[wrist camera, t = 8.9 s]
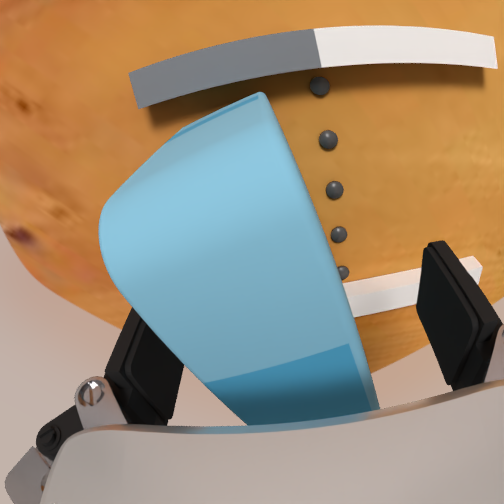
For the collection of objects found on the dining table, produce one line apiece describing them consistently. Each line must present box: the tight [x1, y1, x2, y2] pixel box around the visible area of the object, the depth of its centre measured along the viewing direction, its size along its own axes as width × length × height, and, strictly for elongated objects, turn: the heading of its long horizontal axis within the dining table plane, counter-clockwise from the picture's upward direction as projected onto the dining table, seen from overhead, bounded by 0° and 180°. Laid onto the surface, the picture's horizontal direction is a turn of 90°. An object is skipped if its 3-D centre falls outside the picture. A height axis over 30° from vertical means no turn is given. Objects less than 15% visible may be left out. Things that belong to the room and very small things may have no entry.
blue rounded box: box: [99, 92, 380, 426], centre depth 13 cm, size 12×4×12 cm, turn 25°
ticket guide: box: [129, 26, 497, 317], centre depth 17 cm, size 20×18×2 cm
